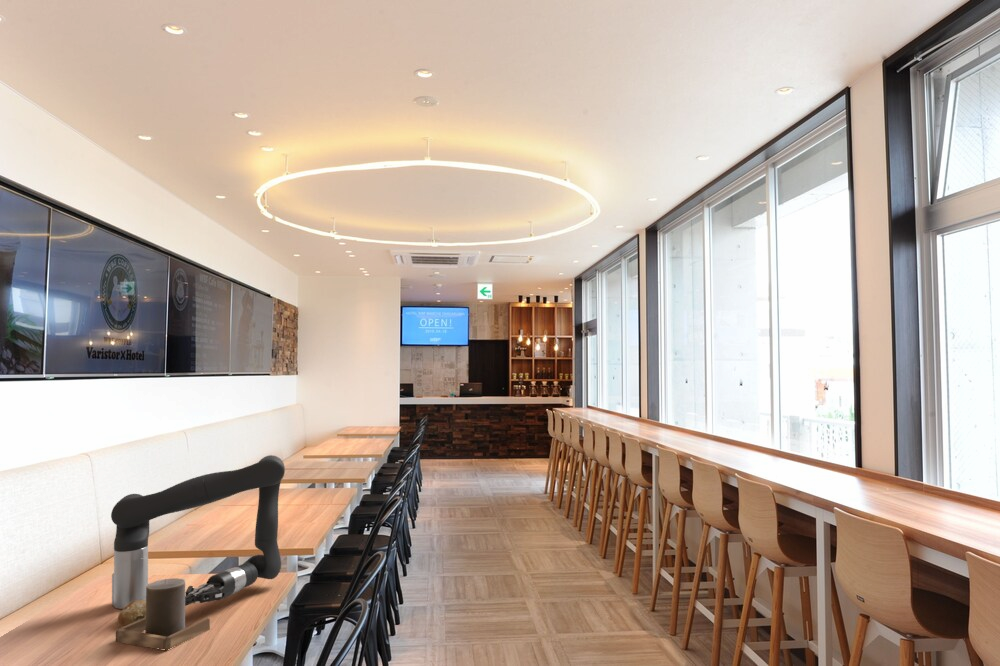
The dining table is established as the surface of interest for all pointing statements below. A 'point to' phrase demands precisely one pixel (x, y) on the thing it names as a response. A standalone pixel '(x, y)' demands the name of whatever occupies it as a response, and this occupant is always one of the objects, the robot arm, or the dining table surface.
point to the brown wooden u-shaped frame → (136, 637)
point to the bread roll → (132, 613)
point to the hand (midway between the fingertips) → (180, 603)
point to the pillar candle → (165, 607)
